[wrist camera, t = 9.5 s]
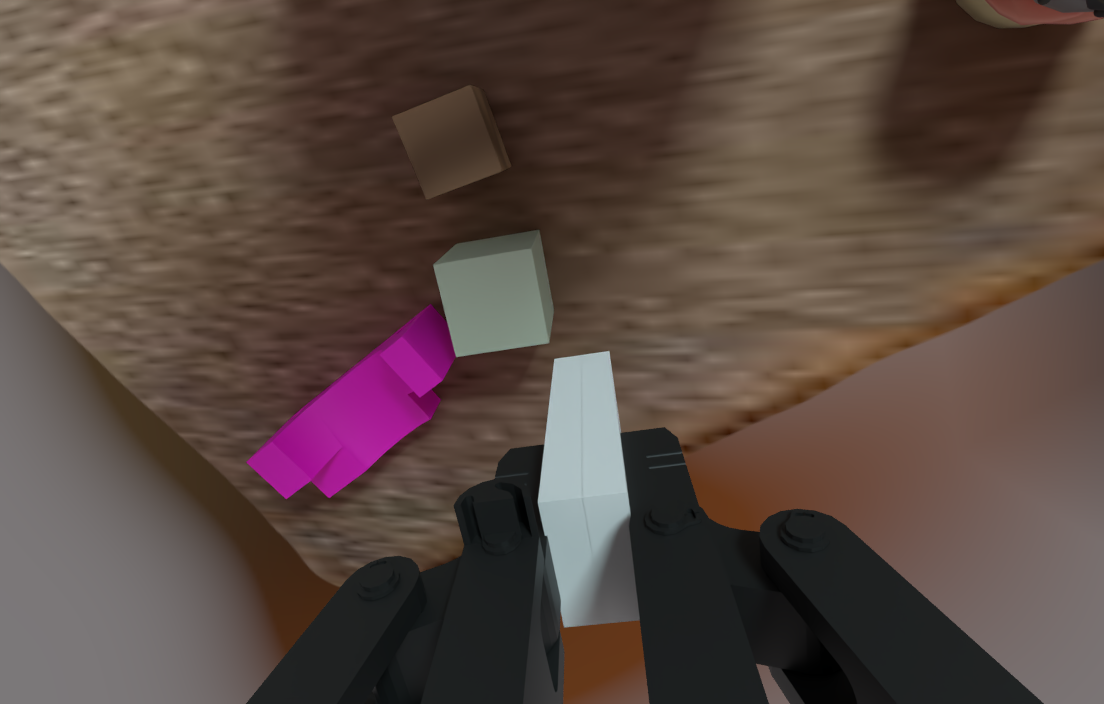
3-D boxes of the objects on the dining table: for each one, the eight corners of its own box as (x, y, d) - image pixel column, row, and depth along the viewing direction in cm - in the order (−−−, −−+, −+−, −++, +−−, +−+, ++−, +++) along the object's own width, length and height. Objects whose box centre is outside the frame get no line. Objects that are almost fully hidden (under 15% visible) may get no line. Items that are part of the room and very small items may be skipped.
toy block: (350, 466, 49) (312, 522, 42) (295, 412, 47) (246, 462, 40) (486, 365, 45) (468, 408, 38) (431, 303, 43) (402, 336, 36)
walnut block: (414, 118, 39) (391, 116, 34) (484, 90, 38) (470, 84, 33) (444, 191, 40) (426, 199, 36) (511, 166, 39) (502, 171, 35)
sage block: (456, 243, 41) (432, 264, 35) (539, 229, 41) (531, 248, 34) (474, 323, 43) (456, 357, 37) (554, 310, 43) (549, 343, 36)
